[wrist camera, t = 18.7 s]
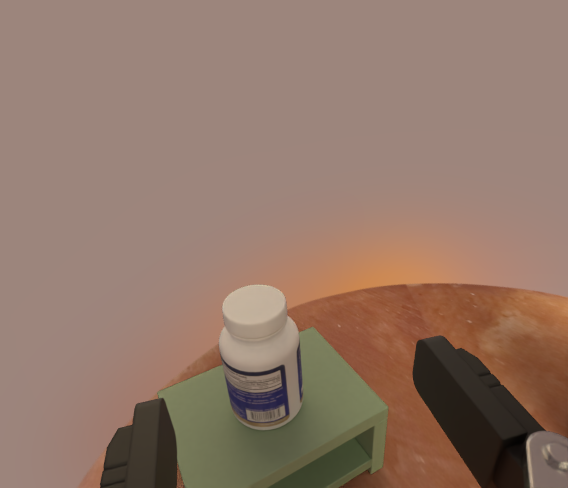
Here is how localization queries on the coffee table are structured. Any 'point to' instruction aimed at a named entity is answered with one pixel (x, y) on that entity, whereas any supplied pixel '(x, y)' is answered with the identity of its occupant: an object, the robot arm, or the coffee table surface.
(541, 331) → the coffee table surface
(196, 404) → the stand
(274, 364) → the pill bottle
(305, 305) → the coffee table surface
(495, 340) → the coffee table surface
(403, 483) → the coffee table surface
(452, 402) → the robot arm
